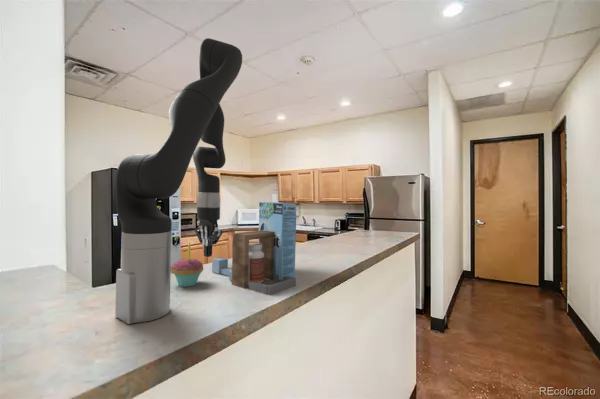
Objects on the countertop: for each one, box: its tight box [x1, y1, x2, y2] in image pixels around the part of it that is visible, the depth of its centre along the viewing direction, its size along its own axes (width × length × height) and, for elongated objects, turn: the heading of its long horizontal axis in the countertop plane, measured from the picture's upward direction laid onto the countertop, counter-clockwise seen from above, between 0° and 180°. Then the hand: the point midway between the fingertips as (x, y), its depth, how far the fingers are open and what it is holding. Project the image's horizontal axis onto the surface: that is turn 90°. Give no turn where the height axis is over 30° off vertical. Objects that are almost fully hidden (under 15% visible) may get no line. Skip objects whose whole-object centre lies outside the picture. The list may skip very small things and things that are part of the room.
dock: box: [248, 274, 297, 296], centre depth 81 cm, size 11×8×2 cm
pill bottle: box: [248, 242, 265, 285], centre depth 85 cm, size 6×6×11 cm
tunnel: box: [231, 230, 274, 289], centre depth 85 cm, size 5×12×14 cm, turn 143°
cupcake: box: [171, 242, 204, 288], centre depth 81 cm, size 9×8×12 cm
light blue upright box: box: [257, 201, 297, 281], centre depth 94 cm, size 20×5×23 cm, turn 29°
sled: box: [211, 257, 232, 282], centre depth 92 cm, size 13×8×4 cm, turn 53°
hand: (207, 256), depth 99 cm, fingers closed
